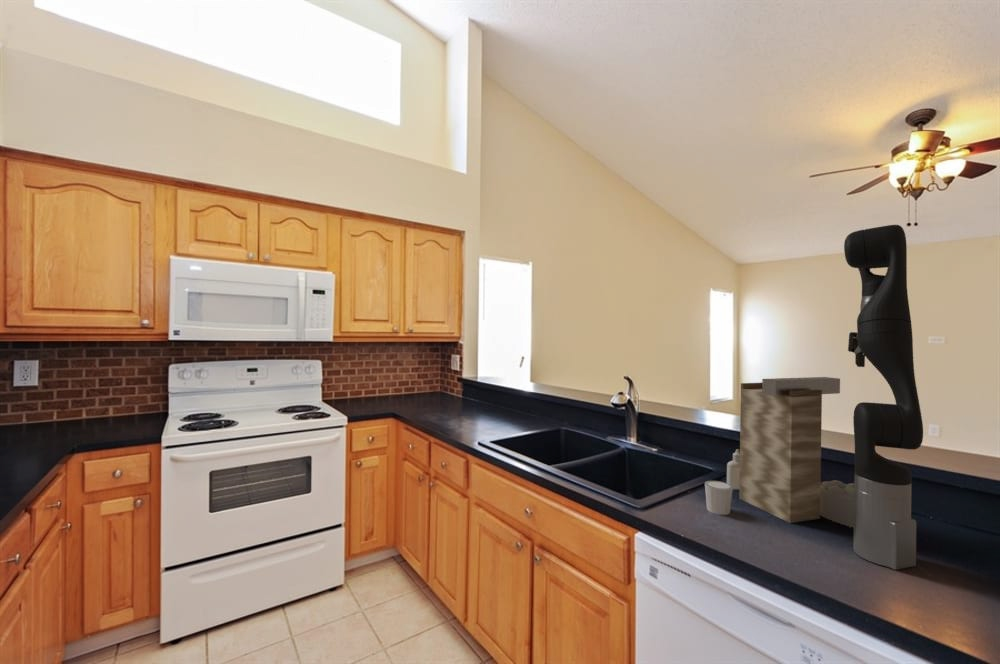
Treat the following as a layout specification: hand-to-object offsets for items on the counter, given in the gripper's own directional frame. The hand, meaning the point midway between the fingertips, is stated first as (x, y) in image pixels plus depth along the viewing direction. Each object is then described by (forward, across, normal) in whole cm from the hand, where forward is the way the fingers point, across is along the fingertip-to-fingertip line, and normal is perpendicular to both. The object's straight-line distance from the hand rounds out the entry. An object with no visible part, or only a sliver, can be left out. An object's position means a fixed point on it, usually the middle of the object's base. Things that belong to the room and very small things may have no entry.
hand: (876, 367), depth 125 cm
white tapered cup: (+40, +5, +49) cm, 64 cm away
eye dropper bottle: (+39, +18, +31) cm, 53 cm away
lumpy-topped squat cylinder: (+40, -6, +20) cm, 45 cm away
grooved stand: (+40, +2, +32) cm, 51 cm away
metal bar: (+8, -2, +30) cm, 31 cm away
